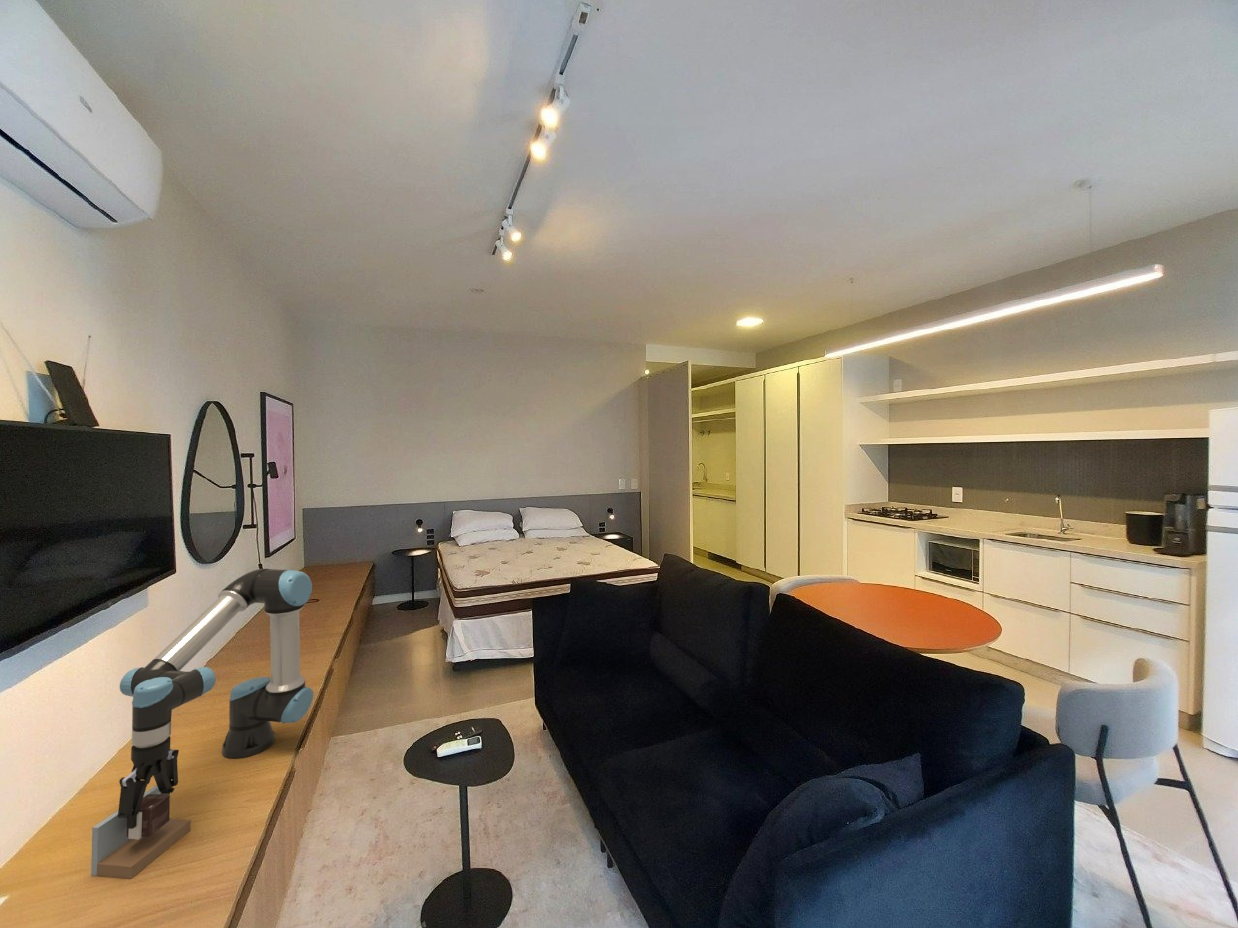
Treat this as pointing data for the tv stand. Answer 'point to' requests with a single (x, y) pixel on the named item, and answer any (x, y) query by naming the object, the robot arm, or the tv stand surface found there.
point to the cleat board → (130, 845)
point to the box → (154, 813)
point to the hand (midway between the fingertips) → (148, 827)
